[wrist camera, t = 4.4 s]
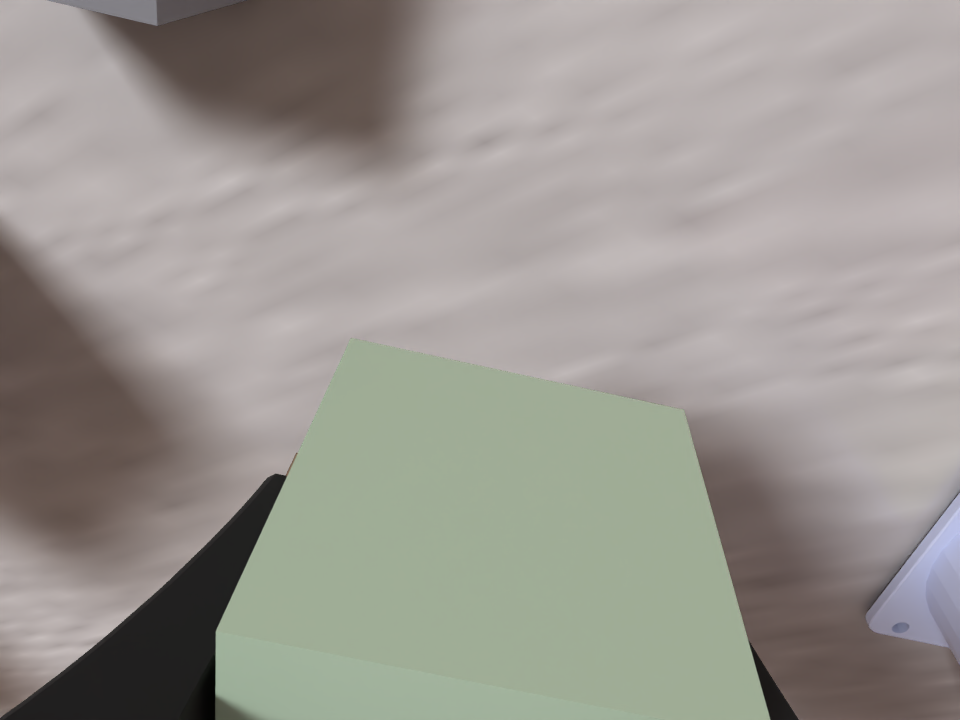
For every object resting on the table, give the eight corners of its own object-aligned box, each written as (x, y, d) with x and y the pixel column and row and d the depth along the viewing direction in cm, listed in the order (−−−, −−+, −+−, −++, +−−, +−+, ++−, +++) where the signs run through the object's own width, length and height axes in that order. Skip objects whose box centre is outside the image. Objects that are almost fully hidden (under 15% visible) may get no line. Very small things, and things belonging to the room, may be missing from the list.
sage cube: (684, 409, 11) (776, 741, 6) (588, 622, 13) (608, 955, 9) (350, 337, 10) (215, 631, 6) (322, 568, 13) (214, 883, 9)
